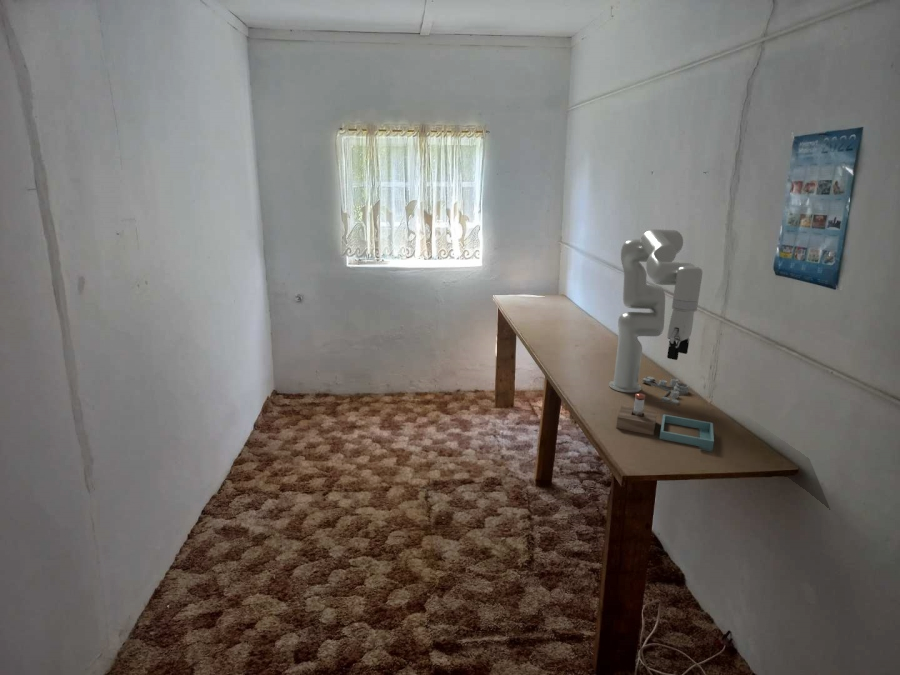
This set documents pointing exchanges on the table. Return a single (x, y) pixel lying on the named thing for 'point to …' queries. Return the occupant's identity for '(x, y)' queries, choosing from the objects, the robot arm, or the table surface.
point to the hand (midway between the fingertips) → (677, 355)
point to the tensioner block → (636, 420)
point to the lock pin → (638, 404)
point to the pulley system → (678, 388)
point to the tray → (703, 441)
